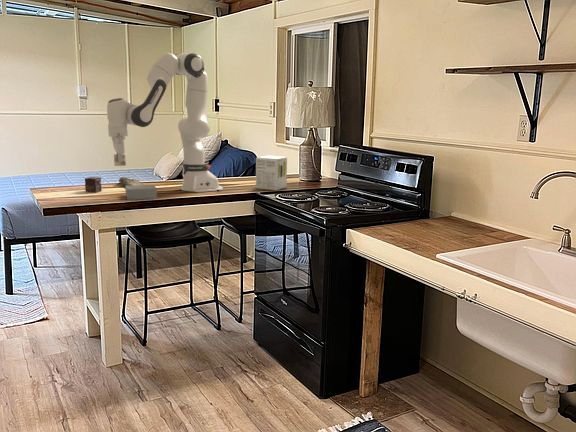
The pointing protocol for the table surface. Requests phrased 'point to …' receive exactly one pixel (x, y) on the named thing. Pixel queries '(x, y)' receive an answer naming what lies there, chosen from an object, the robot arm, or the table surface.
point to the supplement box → (271, 172)
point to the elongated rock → (129, 182)
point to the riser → (141, 192)
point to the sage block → (118, 161)
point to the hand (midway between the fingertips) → (119, 161)
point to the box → (93, 184)
